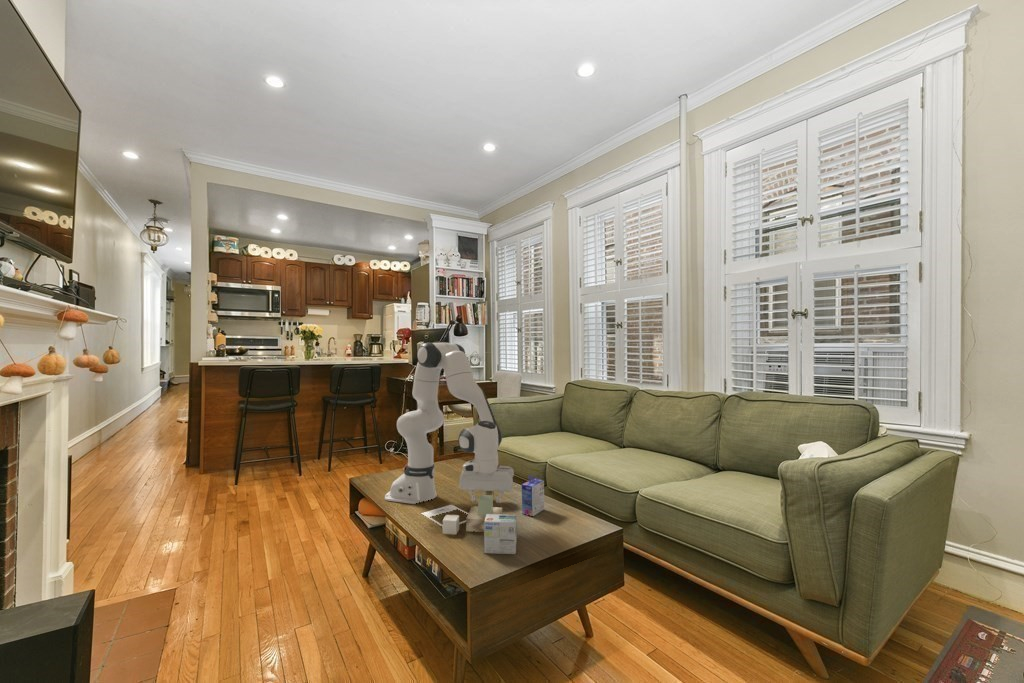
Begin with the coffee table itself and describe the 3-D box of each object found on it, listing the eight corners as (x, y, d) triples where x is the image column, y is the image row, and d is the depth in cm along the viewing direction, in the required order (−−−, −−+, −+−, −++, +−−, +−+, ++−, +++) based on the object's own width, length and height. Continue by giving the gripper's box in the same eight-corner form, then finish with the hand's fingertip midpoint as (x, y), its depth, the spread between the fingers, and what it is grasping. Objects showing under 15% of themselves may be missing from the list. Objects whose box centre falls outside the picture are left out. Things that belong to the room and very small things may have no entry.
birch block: (466, 532, 159) (466, 518, 159) (471, 518, 171) (472, 506, 171) (498, 533, 158) (498, 519, 158) (502, 520, 170) (502, 507, 170)
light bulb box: (516, 545, 148) (516, 513, 148) (516, 554, 142) (516, 521, 142) (485, 544, 149) (485, 512, 149) (483, 553, 142) (483, 521, 142)
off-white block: (442, 533, 157) (442, 520, 157) (445, 528, 162) (446, 514, 162) (456, 534, 156) (456, 520, 156) (459, 528, 161) (459, 515, 161)
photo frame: (451, 504, 184) (477, 517, 170) (451, 506, 184) (477, 519, 170) (421, 512, 174) (445, 527, 161) (421, 515, 174) (445, 530, 161)
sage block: (477, 515, 162) (477, 499, 162) (479, 510, 167) (480, 494, 167) (491, 516, 161) (491, 500, 161) (492, 510, 166) (492, 495, 166)
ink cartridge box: (533, 506, 183) (533, 472, 184) (544, 509, 180) (545, 474, 180) (520, 514, 175) (521, 478, 175) (532, 517, 172) (532, 480, 172)
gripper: (514, 463, 166) (514, 499, 166) (462, 461, 168) (461, 497, 168) (513, 468, 159) (512, 506, 159) (458, 466, 162) (458, 503, 162)
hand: (486, 501), depth 164 cm, fingers open, 8 cm apart
